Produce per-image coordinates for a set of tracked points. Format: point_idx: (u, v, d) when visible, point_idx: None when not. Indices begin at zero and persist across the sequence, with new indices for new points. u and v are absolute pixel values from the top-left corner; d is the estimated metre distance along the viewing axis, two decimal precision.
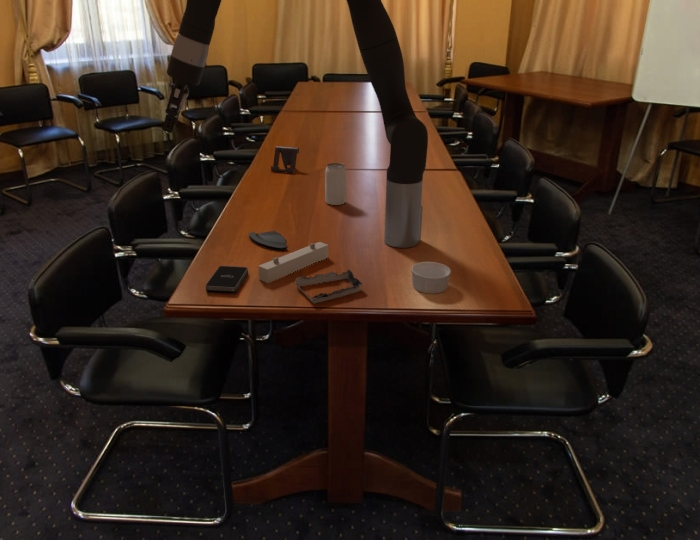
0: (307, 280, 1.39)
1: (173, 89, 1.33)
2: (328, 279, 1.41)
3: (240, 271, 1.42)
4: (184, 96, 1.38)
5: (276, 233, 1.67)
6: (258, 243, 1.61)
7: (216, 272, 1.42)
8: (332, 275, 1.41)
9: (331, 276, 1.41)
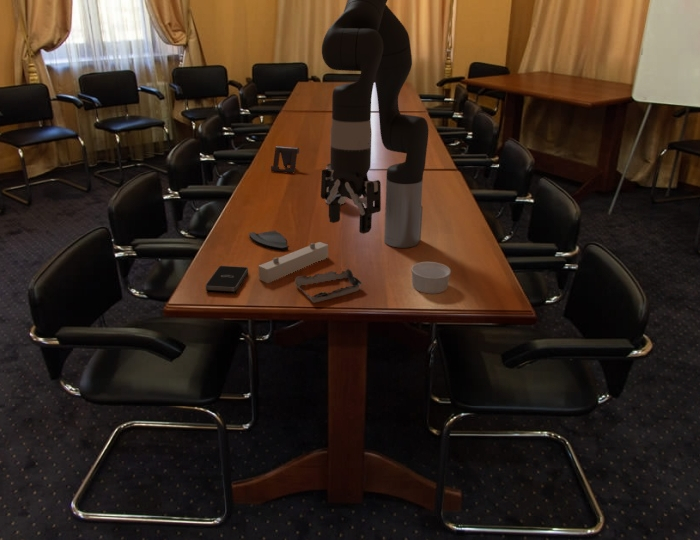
0: (307, 280, 1.39)
1: (372, 185, 1.11)
2: (327, 278, 1.41)
3: (240, 271, 1.42)
4: None
5: (276, 233, 1.67)
6: (259, 243, 1.61)
7: (216, 272, 1.42)
8: (331, 274, 1.42)
9: (330, 275, 1.41)
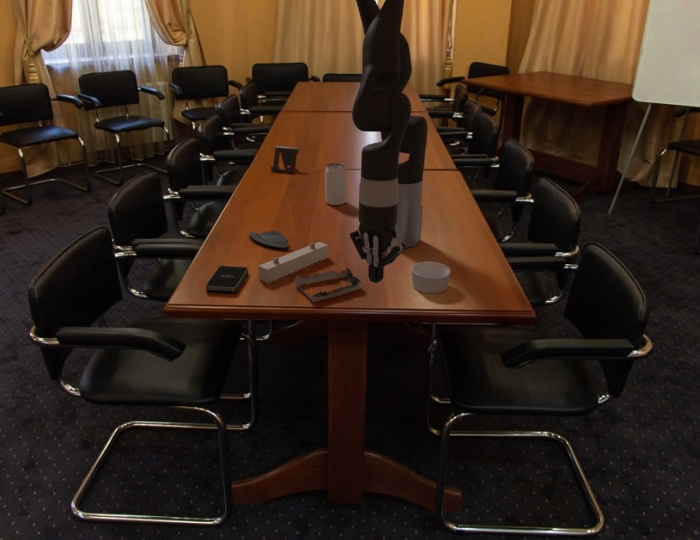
0: (306, 279, 1.40)
1: (398, 251, 1.17)
2: (327, 277, 1.42)
3: (240, 271, 1.42)
4: None
5: (276, 233, 1.67)
6: (259, 243, 1.61)
7: (216, 272, 1.42)
8: (331, 274, 1.42)
9: (330, 275, 1.42)
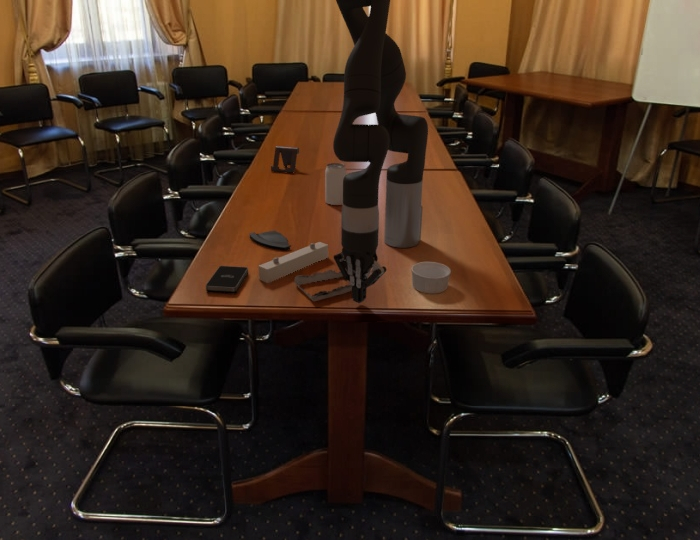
0: (306, 279, 1.40)
1: (379, 274, 1.23)
2: (326, 277, 1.42)
3: (240, 271, 1.42)
4: None
5: (276, 233, 1.67)
6: (260, 243, 1.61)
7: (216, 272, 1.42)
8: (330, 273, 1.42)
9: (329, 274, 1.42)
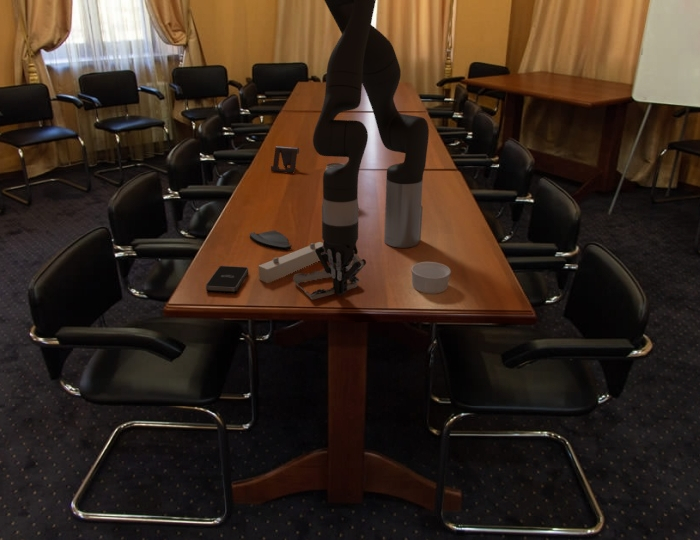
0: (305, 277, 1.41)
1: (359, 266, 1.26)
2: (325, 275, 1.43)
3: (240, 271, 1.42)
4: None
5: (277, 233, 1.67)
6: (261, 243, 1.61)
7: (216, 272, 1.42)
8: None
9: None
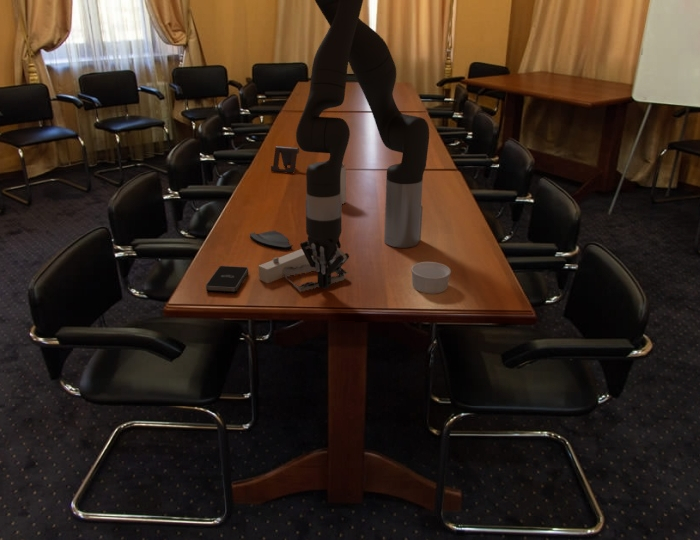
0: (293, 271, 1.44)
1: (342, 260, 1.29)
2: (314, 269, 1.46)
3: (240, 271, 1.42)
4: None
5: (277, 233, 1.67)
6: (261, 243, 1.61)
7: (216, 272, 1.42)
8: None
9: None
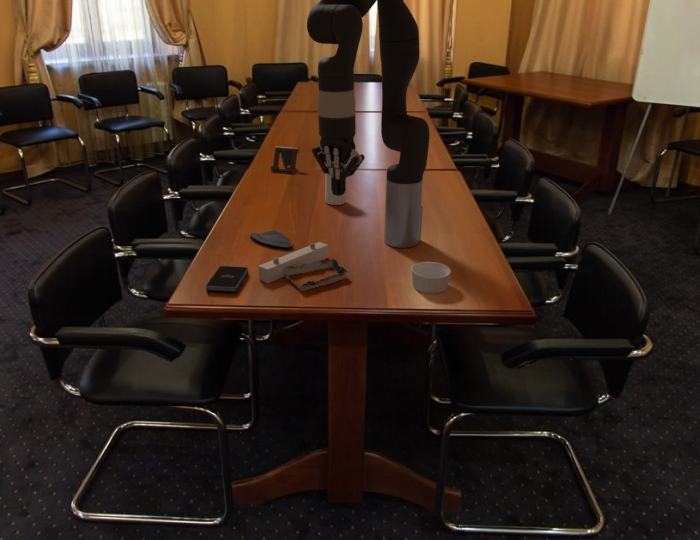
0: (294, 270, 1.44)
1: (357, 161, 1.23)
2: (314, 268, 1.46)
3: (240, 271, 1.42)
4: None
5: (277, 233, 1.67)
6: (262, 243, 1.61)
7: (216, 272, 1.42)
8: (317, 264, 1.47)
9: (316, 265, 1.47)
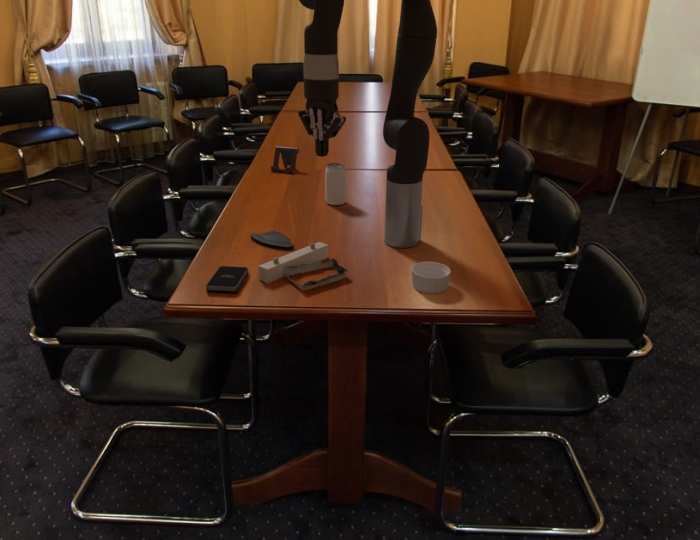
0: (294, 270, 1.44)
1: (339, 122, 1.31)
2: (313, 268, 1.47)
3: (240, 271, 1.42)
4: None
5: (277, 233, 1.67)
6: (263, 243, 1.61)
7: (216, 272, 1.42)
8: (317, 264, 1.47)
9: (316, 265, 1.47)
